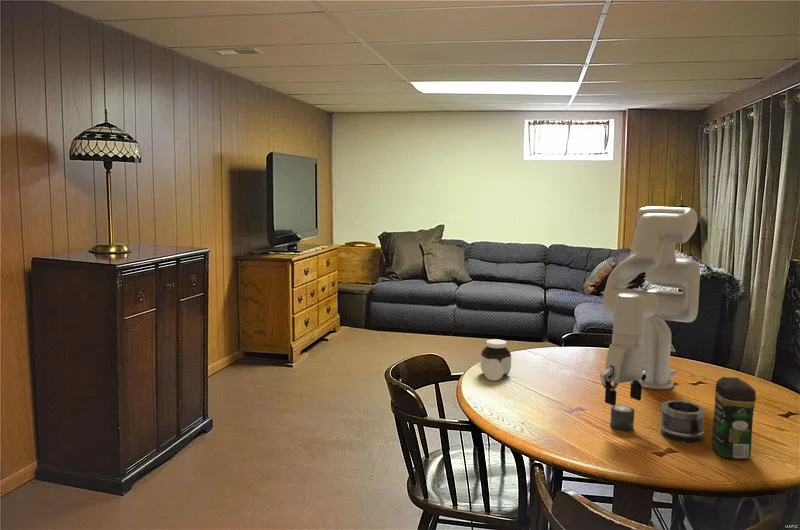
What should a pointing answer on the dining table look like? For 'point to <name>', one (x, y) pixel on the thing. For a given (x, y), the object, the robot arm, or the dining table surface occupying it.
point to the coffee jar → (733, 418)
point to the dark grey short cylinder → (622, 418)
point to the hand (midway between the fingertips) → (622, 401)
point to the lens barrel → (682, 420)
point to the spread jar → (495, 359)
